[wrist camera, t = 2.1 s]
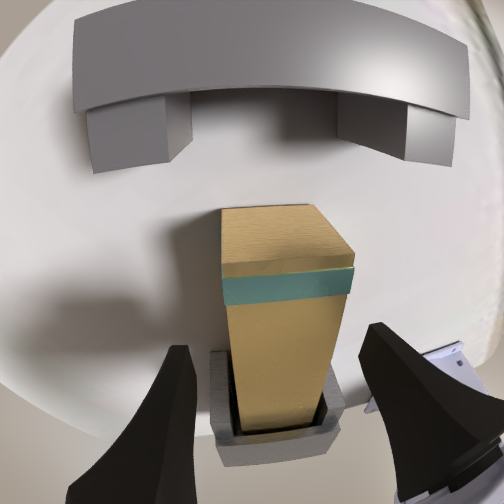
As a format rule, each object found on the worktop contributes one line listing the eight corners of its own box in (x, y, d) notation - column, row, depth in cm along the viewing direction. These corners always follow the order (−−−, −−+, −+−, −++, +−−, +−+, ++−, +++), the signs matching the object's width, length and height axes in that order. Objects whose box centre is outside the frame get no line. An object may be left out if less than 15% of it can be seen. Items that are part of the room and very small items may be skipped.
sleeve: (321, 340, 17) (349, 414, 12) (308, 396, 20) (324, 455, 15) (210, 352, 16) (210, 433, 11) (222, 406, 19) (225, 468, 15)
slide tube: (314, 204, 12) (357, 254, 8) (292, 394, 19) (304, 444, 15) (220, 209, 12) (219, 264, 8) (239, 400, 19) (244, 451, 15)
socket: (377, 58, 9) (467, 45, 4) (376, 140, 11) (464, 172, 6) (139, 55, 8) (74, 20, 3) (145, 146, 10) (82, 180, 5)
